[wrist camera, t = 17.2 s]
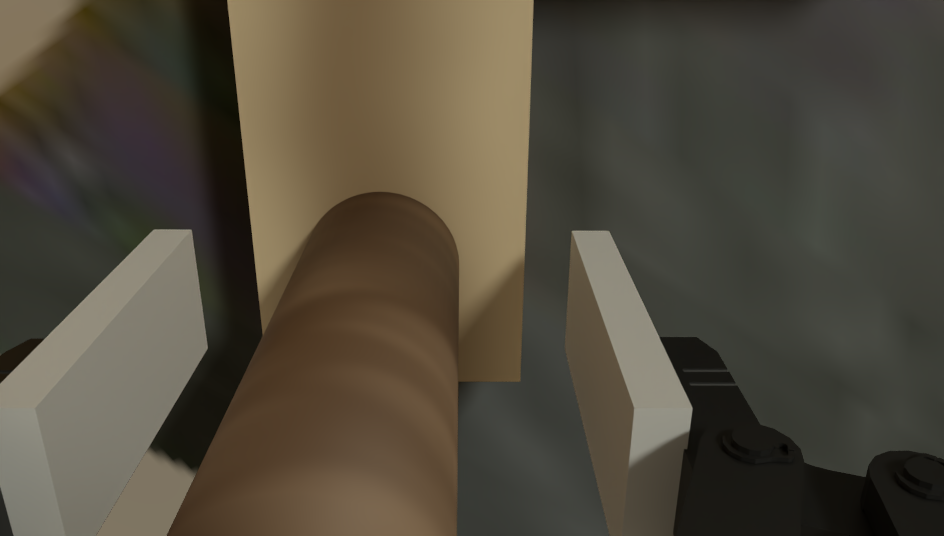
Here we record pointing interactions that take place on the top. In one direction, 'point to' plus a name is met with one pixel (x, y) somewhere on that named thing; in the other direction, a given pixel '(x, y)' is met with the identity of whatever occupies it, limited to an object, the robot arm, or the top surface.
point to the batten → (393, 139)
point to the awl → (346, 390)
